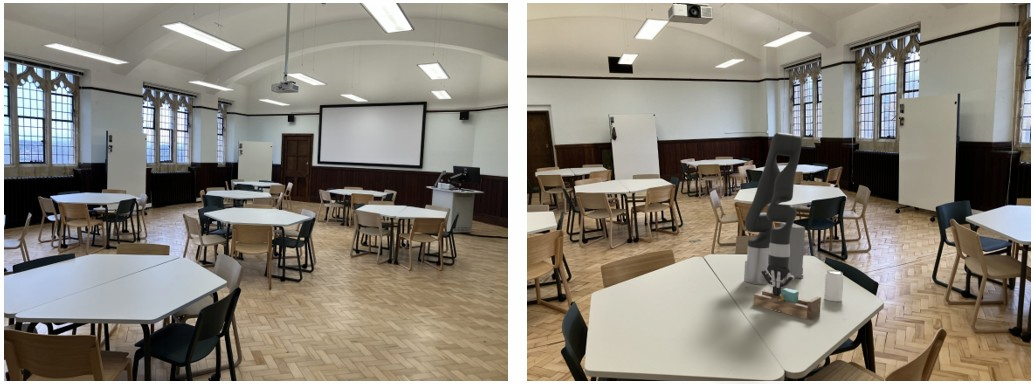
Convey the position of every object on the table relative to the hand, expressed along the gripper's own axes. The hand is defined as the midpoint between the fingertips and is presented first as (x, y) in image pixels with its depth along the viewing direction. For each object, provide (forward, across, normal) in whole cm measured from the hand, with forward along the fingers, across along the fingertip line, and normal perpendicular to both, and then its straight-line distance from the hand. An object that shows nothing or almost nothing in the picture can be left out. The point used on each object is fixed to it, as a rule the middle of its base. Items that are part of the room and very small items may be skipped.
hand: (776, 295), depth 210 cm
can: (+5, +11, +28) cm, 31 cm away
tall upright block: (+5, -18, +54) cm, 57 cm away
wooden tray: (+5, +4, 0) cm, 6 cm away
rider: (+2, +5, 0) cm, 5 cm away
